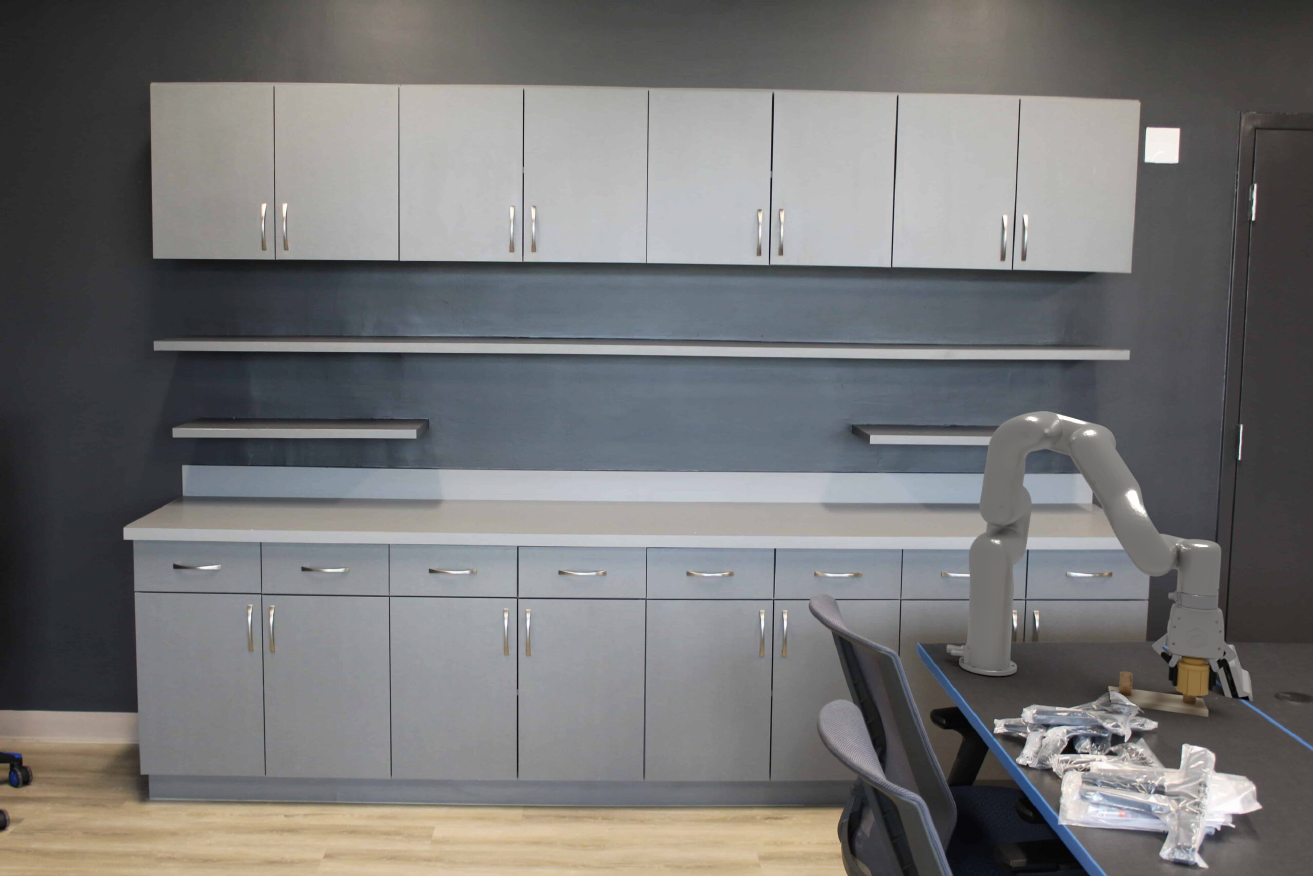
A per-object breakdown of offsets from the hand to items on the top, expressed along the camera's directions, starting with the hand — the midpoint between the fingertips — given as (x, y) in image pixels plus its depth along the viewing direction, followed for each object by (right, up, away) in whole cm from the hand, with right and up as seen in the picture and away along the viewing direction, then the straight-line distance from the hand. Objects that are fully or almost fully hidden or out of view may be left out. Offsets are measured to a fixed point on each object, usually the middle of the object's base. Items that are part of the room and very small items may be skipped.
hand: (1191, 685), depth 204 cm
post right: (0, -4, 0) cm, 4 cm away
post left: (-11, -3, +5) cm, 13 cm away
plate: (-6, -4, +3) cm, 8 cm away
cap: (0, -1, 0) cm, 1 cm away
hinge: (+16, -4, +14) cm, 21 cm away
